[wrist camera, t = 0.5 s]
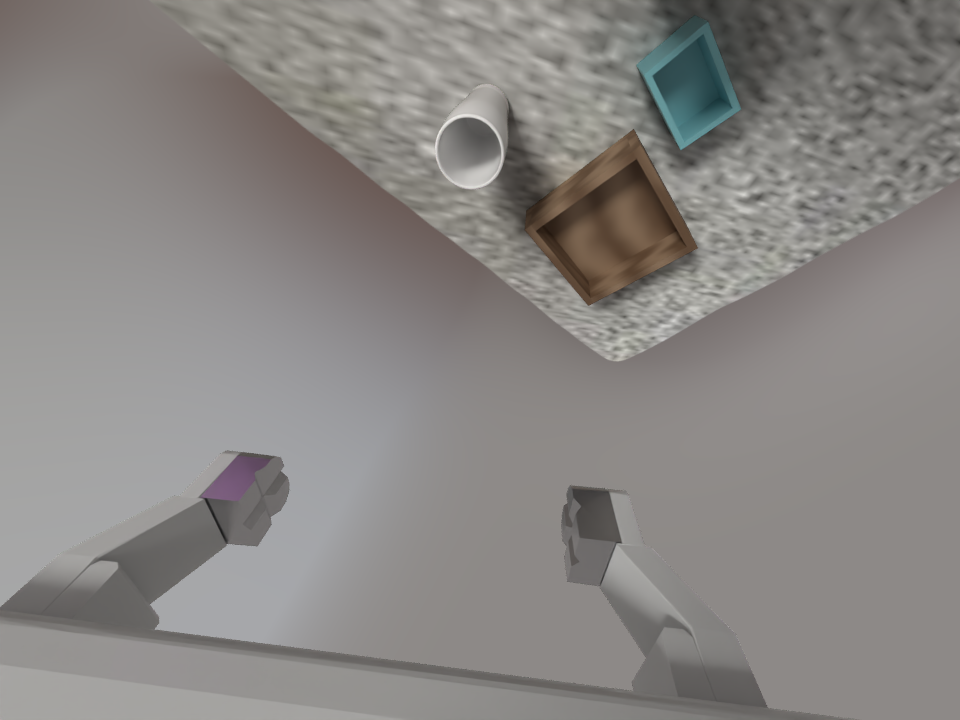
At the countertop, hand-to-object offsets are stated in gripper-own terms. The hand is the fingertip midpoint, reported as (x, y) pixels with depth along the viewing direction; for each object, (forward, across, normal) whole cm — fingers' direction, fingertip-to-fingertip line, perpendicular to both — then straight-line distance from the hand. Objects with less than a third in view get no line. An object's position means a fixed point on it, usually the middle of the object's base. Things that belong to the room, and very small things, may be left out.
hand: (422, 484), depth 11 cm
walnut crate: (+50, -15, +1) cm, 53 cm away
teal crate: (+46, -19, -15) cm, 52 cm away
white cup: (+47, +2, -12) cm, 49 cm away
